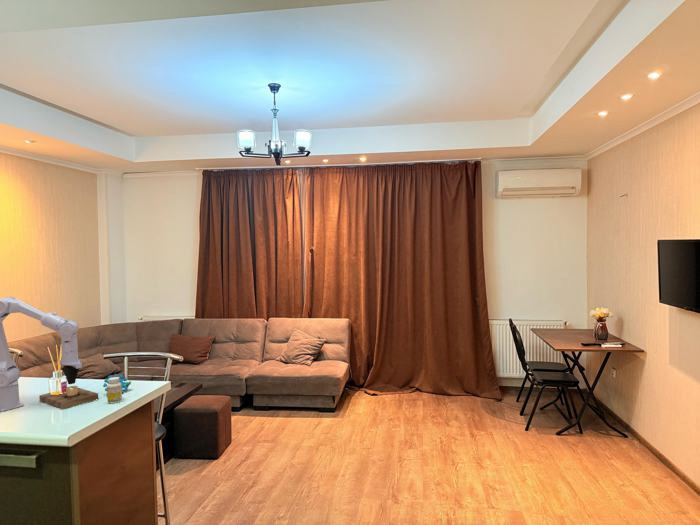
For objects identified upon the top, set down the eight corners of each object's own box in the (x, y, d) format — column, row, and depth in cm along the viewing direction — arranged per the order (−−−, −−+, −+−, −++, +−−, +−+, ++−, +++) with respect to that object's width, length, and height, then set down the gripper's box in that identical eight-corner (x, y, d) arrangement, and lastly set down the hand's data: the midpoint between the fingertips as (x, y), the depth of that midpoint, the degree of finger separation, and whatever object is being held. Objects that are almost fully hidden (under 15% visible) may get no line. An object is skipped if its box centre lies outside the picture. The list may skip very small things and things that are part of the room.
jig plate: (39, 401, 199) (39, 395, 199) (74, 392, 210) (74, 386, 210) (62, 409, 187) (62, 403, 187) (98, 399, 199) (98, 393, 199)
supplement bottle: (118, 403, 193) (117, 379, 192) (104, 404, 193) (103, 380, 192) (124, 399, 198) (123, 376, 198) (111, 399, 198) (110, 376, 198)
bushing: (65, 402, 197) (64, 387, 196) (75, 399, 200) (74, 385, 200) (70, 403, 194) (69, 389, 194) (80, 401, 198) (79, 386, 197)
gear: (104, 394, 201) (103, 373, 207) (101, 401, 204) (100, 381, 210) (132, 392, 207) (130, 372, 213) (129, 399, 210) (128, 380, 216)
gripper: (88, 350, 195) (90, 383, 196) (71, 347, 204) (73, 378, 204) (70, 354, 190) (72, 388, 190) (53, 350, 198) (55, 383, 198)
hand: (71, 383), depth 197 cm, fingers closed
